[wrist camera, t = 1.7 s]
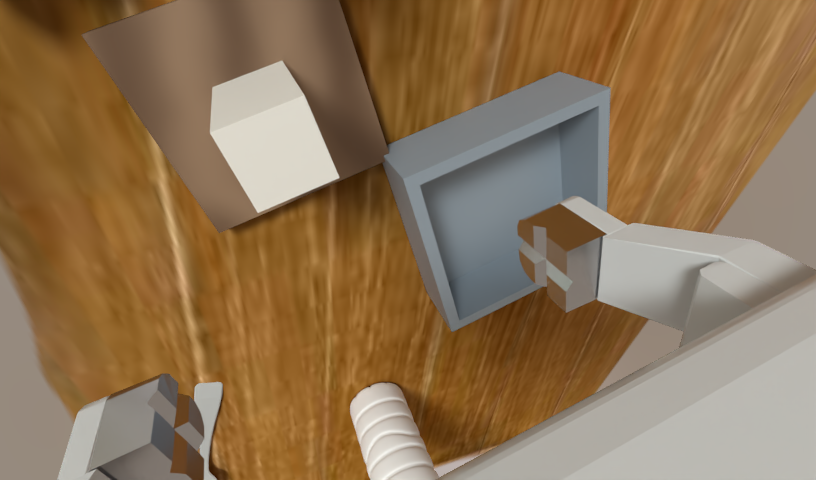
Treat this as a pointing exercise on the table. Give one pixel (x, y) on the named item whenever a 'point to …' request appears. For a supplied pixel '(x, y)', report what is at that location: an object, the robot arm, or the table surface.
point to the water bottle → (389, 435)
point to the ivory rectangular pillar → (269, 136)
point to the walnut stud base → (231, 58)
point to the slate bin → (496, 187)
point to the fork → (208, 417)
